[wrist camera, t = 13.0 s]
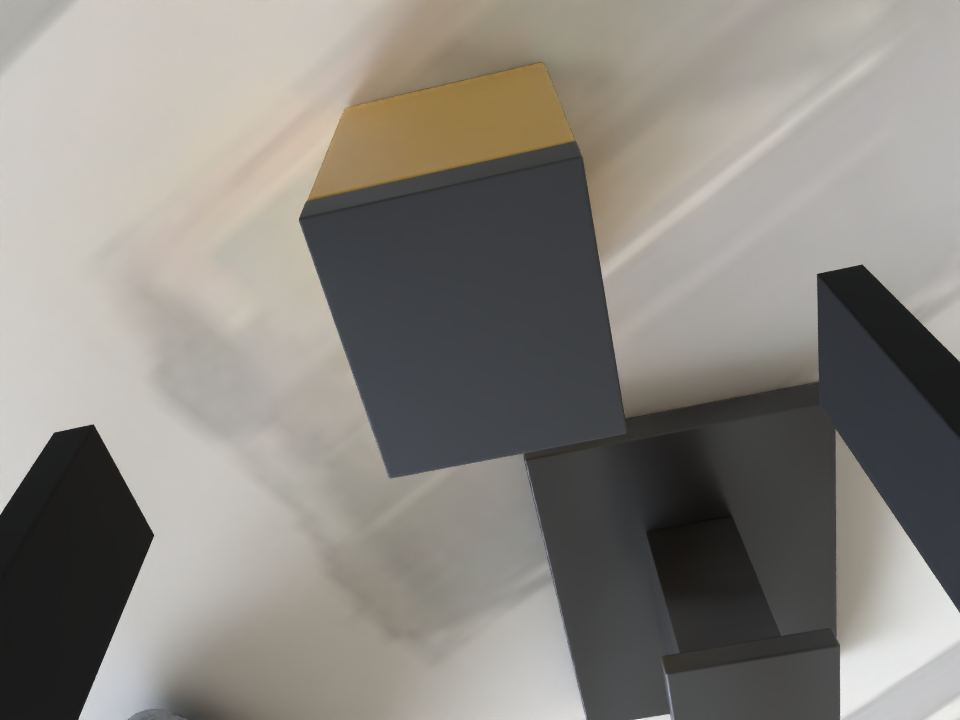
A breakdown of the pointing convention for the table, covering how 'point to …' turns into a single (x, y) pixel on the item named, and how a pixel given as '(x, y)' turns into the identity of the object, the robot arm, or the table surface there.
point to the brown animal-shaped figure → (156, 715)
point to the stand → (699, 561)
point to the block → (466, 273)
